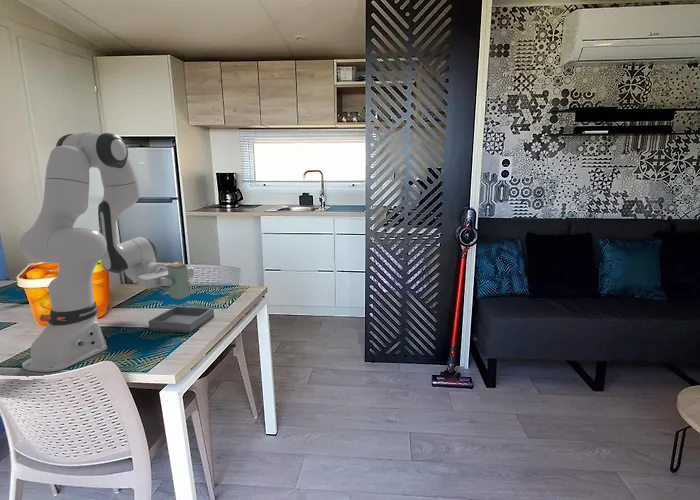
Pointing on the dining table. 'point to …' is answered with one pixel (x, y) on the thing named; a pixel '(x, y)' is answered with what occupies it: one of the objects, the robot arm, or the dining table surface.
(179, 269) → the spice jar
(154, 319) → the bin
